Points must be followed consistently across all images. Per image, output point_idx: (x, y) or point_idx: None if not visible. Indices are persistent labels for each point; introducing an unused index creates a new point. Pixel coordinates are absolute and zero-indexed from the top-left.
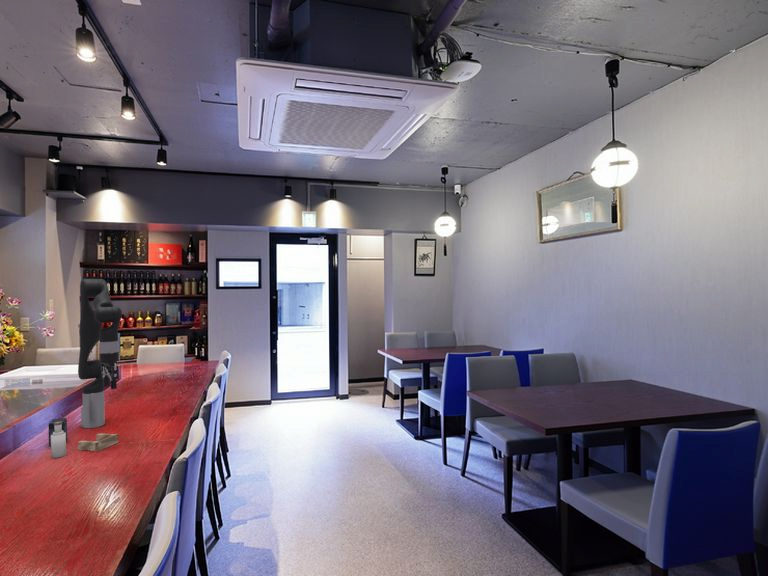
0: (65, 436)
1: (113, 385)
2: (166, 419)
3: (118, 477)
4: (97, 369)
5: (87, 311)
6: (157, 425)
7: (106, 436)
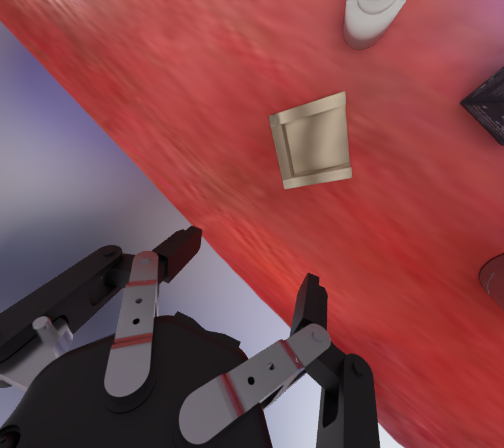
0: (352, 23)
1: (170, 240)
2: None
3: (84, 27)
4: None
5: None
6: None
7: (312, 173)
